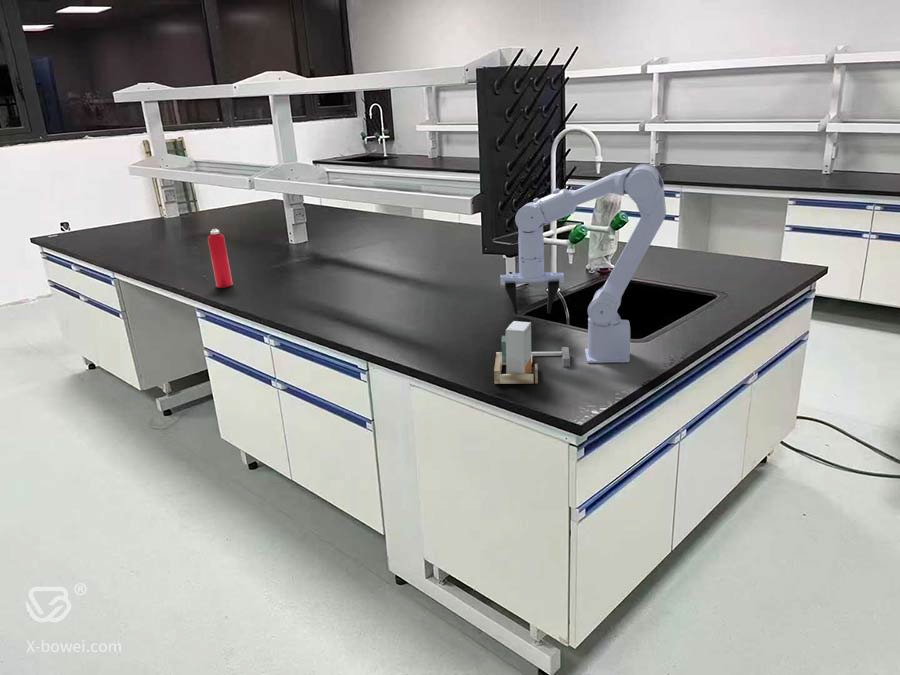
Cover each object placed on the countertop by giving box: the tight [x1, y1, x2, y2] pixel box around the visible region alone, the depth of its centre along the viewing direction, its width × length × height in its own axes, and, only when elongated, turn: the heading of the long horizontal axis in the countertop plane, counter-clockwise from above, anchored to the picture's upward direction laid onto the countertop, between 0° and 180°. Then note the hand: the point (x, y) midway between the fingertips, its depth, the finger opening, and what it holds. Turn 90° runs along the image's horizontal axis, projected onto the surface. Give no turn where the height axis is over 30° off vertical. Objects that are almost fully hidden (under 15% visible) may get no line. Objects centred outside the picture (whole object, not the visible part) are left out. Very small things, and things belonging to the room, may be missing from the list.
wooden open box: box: [493, 335, 539, 385], centre depth 151 cm, size 9×15×6 cm, turn 174°
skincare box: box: [505, 320, 532, 374], centre depth 147 cm, size 6×4×12 cm
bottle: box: [207, 228, 234, 289], centre depth 232 cm, size 6×5×20 cm
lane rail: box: [495, 346, 571, 368], centre depth 157 cm, size 17×7×2 cm, turn 83°
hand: (532, 312), depth 159 cm, fingers open, 7 cm apart
